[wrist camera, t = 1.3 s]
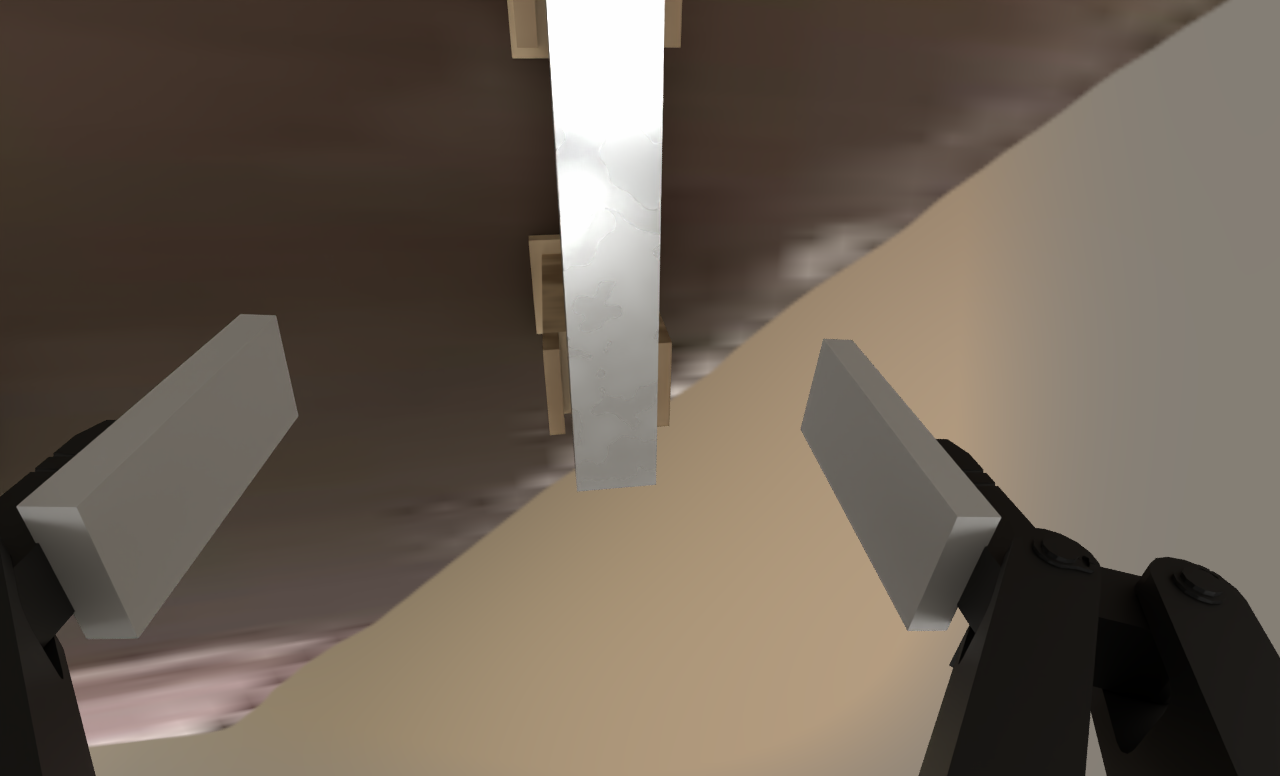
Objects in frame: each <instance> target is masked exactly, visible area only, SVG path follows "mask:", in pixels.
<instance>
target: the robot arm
mask: <svg viewBox="0 0 1280 776" xmlns="http://www.w3.org/2000/svg"><path fill="white" fill-rule="evenodd" d="M297 417H298V412H297V408H296V403H295V399H294V394H293V390H292V385H291V381H290V376H289V372H288V367H287V363H286V358H285V354H284V349H283V345H282V340H281V336H280V331H279V327H278V322H277V318H276V315H252V314H240V315H239V316H238V317H237V318H235V319H234V320H233V321H232V322H231V323H230V324H228V325H227V326H226V327H225V328H224V329H223V330H221V331H220V332H219V333H218V334H217V335H216V336H214V337H213V338H212V339H211V340H210V341H209V342H207V343H206V344H205V345H204V346H203V347H202V348H200V349H199V350H198V351H197V352H196V353H195V354H193V355H192V356H191V357H190V358H189V359H188V360H186V361H185V362H184V363H183V364H182V365H181V366H179V367H178V368H177V369H176V370H175V371H174V372H172V373H171V374H170V375H169V376H168V377H167V378H165V379H164V380H163V381H162V382H161V383H160V384H158V385H157V386H156V387H155V388H154V389H153V390H151V391H150V392H149V393H148V394H147V395H146V396H144V397H143V398H142V399H141V400H140V401H139V402H137V403H136V404H135V405H134V406H133V407H132V408H130V409H129V410H128V411H127V412H126V413H125V414H123V415H122V416H121V417H120V418H119V419H118V420H106V421H104V422H102V423H99V424H97V425H95V426H93V427H91V428H89V429H87V430H85V431H83V432H81V433H79V434H77V435H75V436H74V437H73V438H72V439H70V440H69V441H68V442H67V443H66V444H64V445H63V446H62V447H61V448H59V449H58V450H57V451H56V452H54V453H53V454H54V456H53V457H48V458H47V459H46V460H45V461H43V462H42V463H41V464H40V465H39V466H37V467H36V468H35V469H36V470H35V472H30V473H29V474H28V475H26V476H25V477H24V478H23V479H21V480H20V481H19V482H18V483H17V484H15V485H14V486H13V487H12V488H10V489H9V490H8V491H7V492H6V493H4V494H3V495H2V496H1V497H0V776H96V775H95V771H94V767H93V764H92V760H91V756H90V752H89V748H88V744H87V740H86V736H85V732H84V728H83V724H82V720H81V716H80V712H79V708H78V704H77V700H76V696H75V692H74V688H73V685H72V681H71V677H70V673H69V669H68V665H67V661H66V657H65V653H64V649H63V647H62V645H61V643H60V642H59V640H58V638H57V636H56V635H55V634H56V633H57V632H58V631H59V629H60V628H61V627H62V626H63V625H64V624H65V623H66V621H67V620H68V619H69V618H70V617H71V616H72V614H74V616H75V618H76V620H77V622H78V623H79V625H80V627H81V629H82V631H83V633H84V635H85V637H86V639H130V638H139V637H140V635H141V634H142V633H143V631H144V630H145V628H146V627H147V626H148V624H149V623H150V622H151V620H152V619H153V617H154V616H155V615H156V613H157V612H158V610H159V609H160V608H161V606H162V605H163V603H164V602H165V601H166V599H167V598H168V597H169V595H170V594H171V592H172V591H173V590H174V588H175V587H176V585H177V584H178V583H179V581H180V580H181V578H182V577H183V576H184V574H185V573H186V572H187V570H188V569H189V567H190V566H191V565H192V563H193V562H194V560H195V559H196V558H197V556H198V555H199V553H200V552H201V551H202V549H203V548H204V547H205V545H206V544H207V542H208V541H209V540H210V538H211V537H212V535H213V534H214V533H215V531H216V530H217V528H218V527H219V526H220V524H221V523H222V522H223V520H224V519H225V517H226V516H227V515H228V513H229V512H230V510H231V509H232V508H233V506H234V505H235V503H236V502H237V501H238V499H239V498H240V496H241V495H242V494H243V492H244V491H245V490H246V488H247V487H248V485H249V484H250V483H251V481H252V480H253V478H254V477H255V476H256V474H257V473H258V471H259V470H260V469H261V467H262V466H263V465H264V463H265V462H266V460H267V459H268V458H269V456H270V455H271V453H272V452H273V451H274V449H275V448H276V446H277V445H278V444H279V442H280V441H281V440H282V438H283V437H284V435H285V434H286V433H287V431H288V430H289V428H290V427H291V426H292V424H293V423H294V421H295V420H296V419H297ZM801 431H802V433H803V435H804V437H805V439H806V441H807V442H808V444H809V446H810V448H811V450H812V452H813V454H814V455H815V457H816V459H817V461H818V463H819V465H820V467H821V469H822V471H823V472H824V474H825V476H826V478H827V480H828V482H829V484H830V486H831V487H832V489H833V491H834V493H835V495H836V497H837V499H838V501H839V503H840V504H841V506H842V508H843V510H844V512H845V514H846V516H847V518H848V520H849V521H850V523H851V525H852V527H853V529H854V531H855V533H856V535H857V536H858V538H859V540H860V542H861V544H862V546H863V548H864V550H865V552H866V553H867V555H868V557H869V559H870V561H871V563H872V565H873V567H874V568H875V570H876V572H877V574H878V576H879V578H880V580H881V582H882V583H883V585H884V587H885V589H886V591H887V593H888V595H889V597H890V599H891V600H892V602H893V604H894V606H895V608H896V610H897V612H898V614H899V615H900V617H901V619H902V621H903V623H904V625H905V627H906V629H907V630H908V631H930V630H932V631H933V630H934V631H936V630H947V629H948V627H949V625H950V623H951V621H952V618H953V616H954V614H955V612H956V610H957V608H959V609H960V611H961V612H962V614H963V615H964V617H965V619H966V620H967V622H968V623H969V627H968V629H967V631H966V633H965V635H964V637H963V639H962V641H961V643H960V645H959V647H958V649H957V651H956V653H955V655H954V657H953V658H952V661H951V662H950V666H951V667H953V670H952V674H951V676H950V680H949V683H948V686H947V689H946V692H945V695H944V698H943V701H942V704H941V708H940V711H939V714H938V717H937V721H936V723H935V726H934V729H933V733H932V736H931V739H930V742H929V745H928V748H927V751H926V754H925V757H924V760H923V763H922V767H921V770H920V773H919V776H1085V770H1086V758H1087V747H1088V735H1089V724H1090V723H1089V722H1090V712H1091V714H1092V718H1093V722H1094V726H1095V730H1096V734H1097V738H1098V742H1099V746H1100V750H1101V754H1102V758H1103V762H1104V766H1105V770H1106V774H1107V776H1280V657H1279V655H1278V654H1277V652H1276V650H1275V649H1274V647H1273V645H1272V644H1271V642H1270V640H1269V638H1268V637H1267V635H1266V633H1265V631H1264V630H1263V628H1262V626H1261V625H1260V623H1259V621H1258V620H1257V618H1256V616H1255V614H1254V613H1253V611H1252V609H1251V608H1250V606H1249V604H1248V602H1247V601H1246V600H1245V598H1244V597H1243V596H1242V595H1241V594H1240V592H1239V591H1238V590H1237V589H1236V588H1234V586H1232V585H1231V584H1230V583H1228V582H1227V581H1226V580H1224V579H1223V578H1222V577H1221V576H1220V575H1218V574H1216V573H1215V572H1213V571H1209V569H1207V568H1205V567H1203V566H1201V565H1197V564H1194V563H1191V562H1188V561H1186V560H1182V559H1176V558H1170V557H1163V558H1156V559H1155V560H1154V561H1152V562H1151V563H1150V565H1149V566H1148V567H1147V569H1146V570H1145V572H1144V573H1143V575H1142V576H1137V575H1133V574H1129V573H1125V572H1121V571H1116V570H1112V569H1108V568H1103V567H1100V564H1099V563H1098V561H1097V560H1096V559H1095V558H1094V557H1093V555H1092V554H1091V553H1090V552H1089V551H1088V550H1086V549H1085V548H1084V547H1082V546H1081V545H1080V544H1079V543H1077V542H1075V541H1073V540H1072V539H1069V538H1068V537H1066V536H1064V535H1062V534H1059V533H1056V532H1053V531H1050V530H1046V529H1040V528H1035V527H1034V526H1033V525H1032V524H1031V523H1030V521H1029V520H1028V519H1027V518H1026V517H1025V516H1024V515H1023V514H1022V513H1021V511H1020V510H1019V509H1018V508H1017V507H1016V506H1015V505H1014V504H1013V502H1012V501H1011V500H1010V499H1009V498H1008V497H1007V496H1006V495H1005V493H1004V492H1003V491H1002V490H1001V489H1000V488H999V487H998V486H995V482H994V481H993V480H992V479H991V478H990V477H989V475H988V474H987V473H983V469H982V468H981V466H980V465H978V463H977V462H976V461H975V460H974V459H973V458H972V456H971V455H970V454H969V453H967V452H965V451H964V450H963V449H961V448H960V447H958V446H957V445H955V444H954V443H952V442H951V441H949V440H947V439H935V438H934V437H933V436H932V434H931V433H930V432H929V431H928V430H927V428H926V427H925V426H924V425H923V424H922V422H921V421H920V420H919V419H918V418H917V416H916V415H915V414H914V413H913V412H912V410H911V409H910V408H909V407H908V406H907V405H906V403H905V402H904V401H903V400H902V399H901V397H900V396H899V395H898V394H897V393H896V391H895V390H894V389H893V388H892V387H891V386H890V384H889V383H888V382H887V381H886V380H885V378H884V377H883V376H882V375H881V374H880V372H879V371H878V370H877V369H876V368H875V367H874V365H873V364H872V363H871V362H870V361H869V359H868V358H867V357H866V356H865V355H864V353H863V352H862V351H861V350H860V349H859V348H858V346H857V345H856V344H855V343H854V342H853V341H852V340H837V339H823V342H822V347H821V350H820V354H819V358H818V362H817V366H816V370H815V374H814V378H813V382H812V386H811V390H810V394H809V398H808V402H807V406H806V410H805V414H804V418H803V422H802V426H801Z"/></svg>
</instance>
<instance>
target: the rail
mask: <svg viewBox="0 0 1280 776" xmlns="http://www.w3.org/2000/svg"><path fill="white" fill-rule="evenodd" d="M664 5H665V0H545V8H546V24H547V40H548V56H549V72H550V87H551V103H552V119H553V135H554V150H555V166H556V182H557V198H558V213H559V229H560V245H561V261H562V277H563V292H564V308H565V324H566V340H567V355H568V371H569V387H570V403H571V418H572V434H573V447H574V459H575V471H576V482H577V491H588V490H598V489H599V490H600V489H611V488H622V487H634V486H645V485H656V451H657V395H658V339H659V284H660V228H661V172H662V117H663V61H664Z"/></svg>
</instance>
